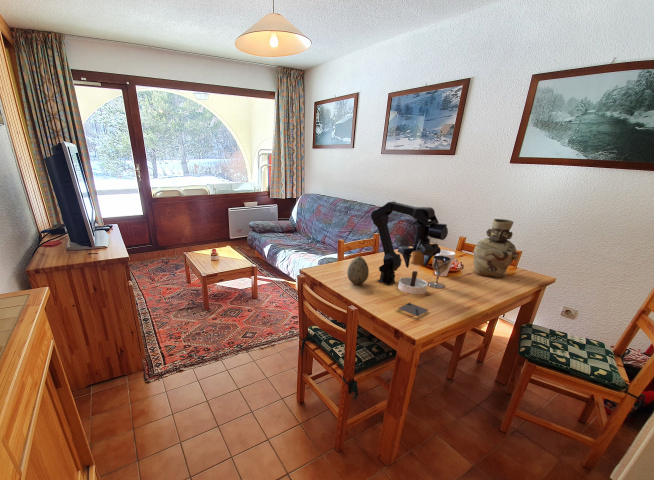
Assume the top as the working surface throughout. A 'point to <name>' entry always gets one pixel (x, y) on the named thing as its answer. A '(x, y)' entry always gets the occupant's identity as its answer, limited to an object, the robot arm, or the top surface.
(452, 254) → the foam cup
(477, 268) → the ceramic vessel
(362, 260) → the decorative egg
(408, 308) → the coaster
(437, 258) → the wine glass
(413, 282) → the stirring stick
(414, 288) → the bowl
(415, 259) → the disposable coffee cup
